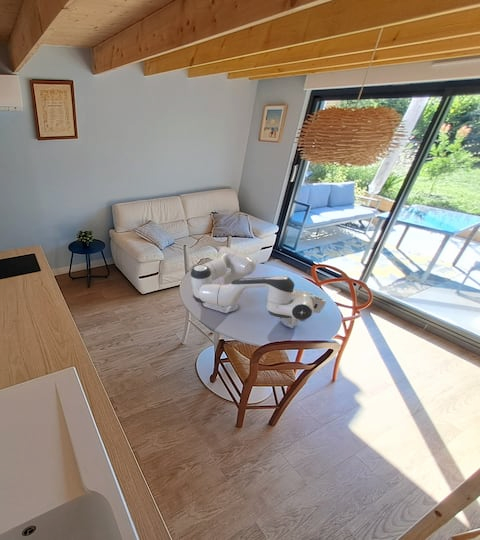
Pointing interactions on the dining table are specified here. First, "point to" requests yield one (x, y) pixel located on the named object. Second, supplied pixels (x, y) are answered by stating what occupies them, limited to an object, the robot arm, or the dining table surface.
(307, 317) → the robot arm
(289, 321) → the mug
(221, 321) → the dining table surface
